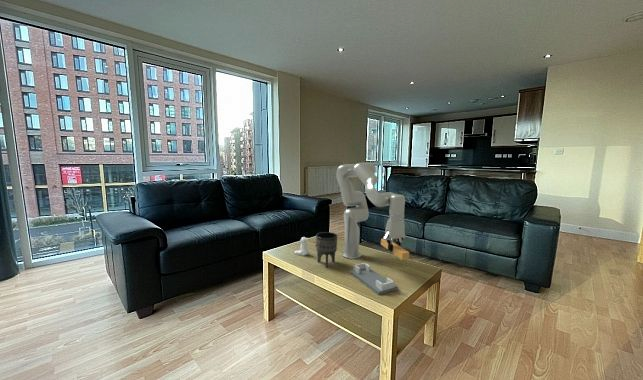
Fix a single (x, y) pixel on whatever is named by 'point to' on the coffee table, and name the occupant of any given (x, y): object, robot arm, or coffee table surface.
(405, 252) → the slat
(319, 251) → the planter
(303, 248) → the sitting furry creature
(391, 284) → the cap board
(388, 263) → the coffee table surface
